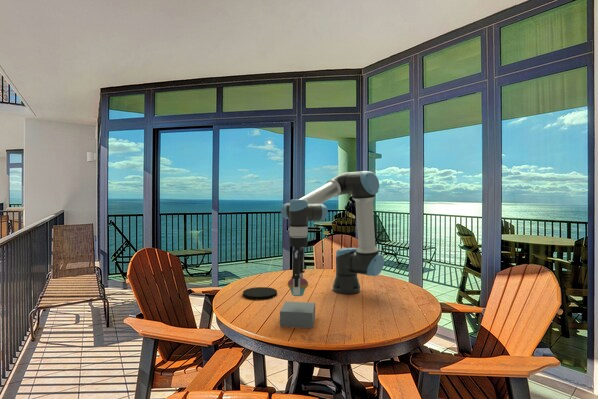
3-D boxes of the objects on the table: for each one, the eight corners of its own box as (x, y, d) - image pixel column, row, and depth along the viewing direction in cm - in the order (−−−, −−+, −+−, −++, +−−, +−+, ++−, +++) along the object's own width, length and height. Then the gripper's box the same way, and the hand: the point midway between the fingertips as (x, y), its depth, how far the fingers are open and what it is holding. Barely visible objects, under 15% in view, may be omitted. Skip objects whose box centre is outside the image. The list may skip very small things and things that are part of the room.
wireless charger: (267, 289, 191) (267, 285, 191) (283, 297, 176) (283, 293, 176) (237, 293, 182) (237, 290, 182) (251, 302, 167) (251, 298, 167)
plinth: (315, 316, 146) (315, 302, 146) (312, 328, 133) (312, 312, 133) (285, 315, 148) (285, 301, 148) (279, 326, 135) (279, 311, 135)
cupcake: (287, 292, 144) (287, 263, 144) (307, 291, 145) (307, 263, 145) (288, 298, 136) (288, 268, 136) (309, 297, 137) (309, 267, 137)
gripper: (293, 233, 151) (293, 284, 152) (284, 239, 130) (284, 298, 131) (310, 234, 150) (309, 285, 151) (304, 239, 129) (304, 299, 130)
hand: (298, 291), depth 141 cm, fingers closed on cupcake, 8 cm apart
